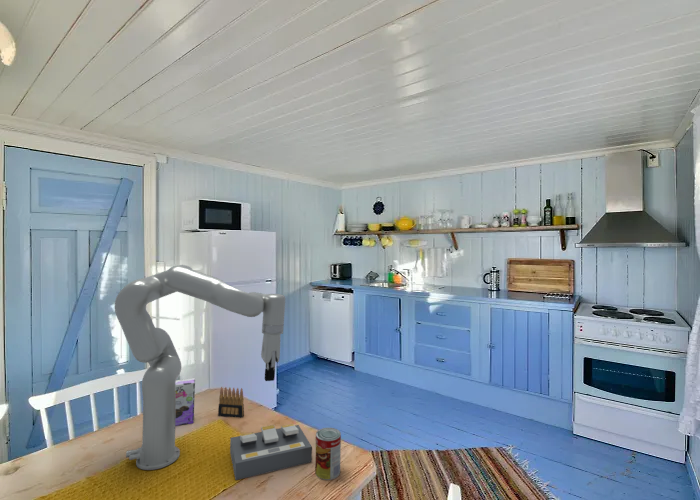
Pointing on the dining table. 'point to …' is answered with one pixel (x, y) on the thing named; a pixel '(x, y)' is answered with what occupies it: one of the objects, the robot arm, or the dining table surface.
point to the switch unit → (269, 454)
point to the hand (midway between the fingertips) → (269, 379)
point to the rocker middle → (269, 434)
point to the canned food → (328, 453)
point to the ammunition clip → (231, 403)
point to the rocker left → (248, 437)
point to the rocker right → (289, 429)
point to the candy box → (185, 401)
